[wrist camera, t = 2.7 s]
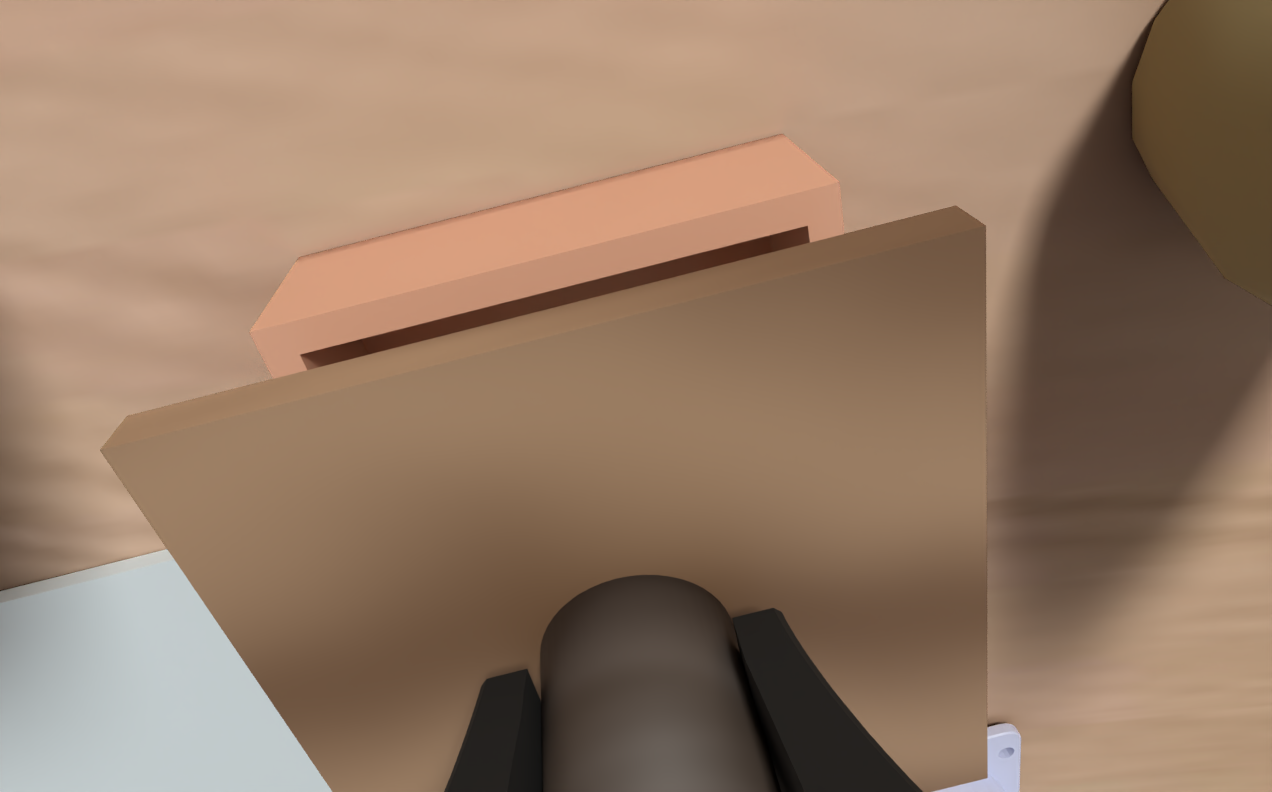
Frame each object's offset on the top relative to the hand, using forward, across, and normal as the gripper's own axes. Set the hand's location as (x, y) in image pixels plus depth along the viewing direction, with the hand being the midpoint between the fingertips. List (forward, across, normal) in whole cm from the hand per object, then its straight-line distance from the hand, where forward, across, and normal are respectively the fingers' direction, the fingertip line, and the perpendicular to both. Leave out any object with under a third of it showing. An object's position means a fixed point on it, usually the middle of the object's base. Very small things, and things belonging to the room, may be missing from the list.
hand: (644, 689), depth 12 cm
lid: (+2, 0, 0) cm, 2 cm away
